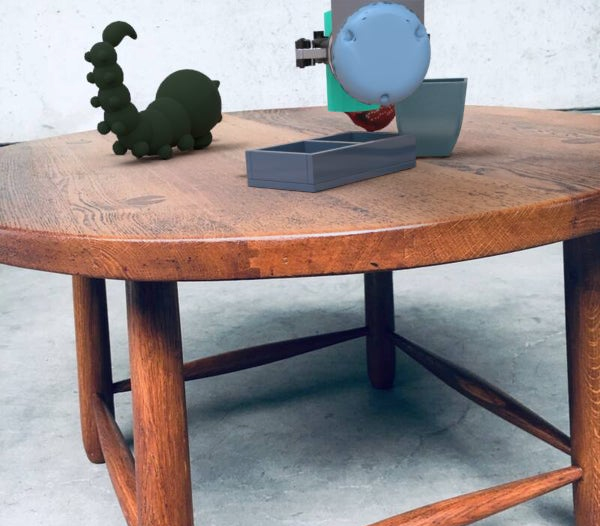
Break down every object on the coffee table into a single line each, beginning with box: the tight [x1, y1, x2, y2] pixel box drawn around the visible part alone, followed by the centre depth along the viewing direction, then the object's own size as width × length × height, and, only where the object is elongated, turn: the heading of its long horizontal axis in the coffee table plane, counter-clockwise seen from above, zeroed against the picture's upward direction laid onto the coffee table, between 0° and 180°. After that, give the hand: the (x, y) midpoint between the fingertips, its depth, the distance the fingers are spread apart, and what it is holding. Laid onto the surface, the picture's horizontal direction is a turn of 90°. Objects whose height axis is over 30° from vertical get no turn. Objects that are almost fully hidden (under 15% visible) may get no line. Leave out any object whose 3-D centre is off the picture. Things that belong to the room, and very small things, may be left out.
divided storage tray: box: [244, 130, 417, 193], centre depth 101 cm, size 10×18×4 cm, turn 139°
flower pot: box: [394, 77, 468, 158], centre depth 112 cm, size 9×9×9 cm
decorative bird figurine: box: [343, 103, 396, 132], centre depth 126 cm, size 3×18×10 cm, turn 139°
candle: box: [323, 9, 380, 113], centre depth 100 cm, size 6×6×12 cm
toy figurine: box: [83, 20, 223, 160], centre depth 124 cm, size 9×19×25 cm
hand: (351, 47), depth 104 cm, fingers closed on candle, 5 cm apart
